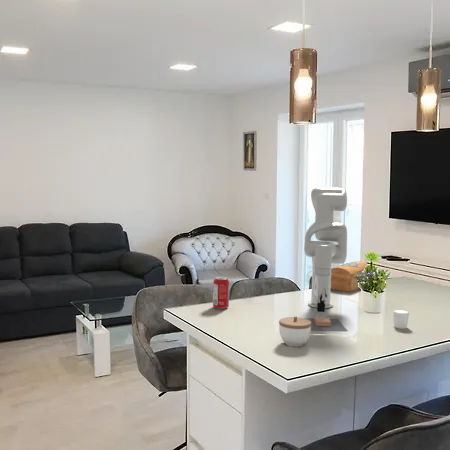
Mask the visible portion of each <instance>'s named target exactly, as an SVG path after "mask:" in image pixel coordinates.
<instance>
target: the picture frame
mask: <svg viewBox="0 0 450 450" xmlns="http://www.w3.org/2000/svg"><path fill="white" fill-rule="evenodd" d="M313 318H314V322H315V324H316V325H317V326H331V321H330V320H329V319H330V318H329V317H328V316H313Z"/></svg>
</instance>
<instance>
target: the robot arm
mask: <svg viewBox="0 0 450 450" xmlns="http://www.w3.org/2000/svg"><path fill="white" fill-rule="evenodd" d="M310 192H311V193H310V199H311V203H312V207H313V210H314V212H315V218H314V219H315V220H314V222H313V223H312V224H311V225H310V226H309V227H308V229H307V230H306V232H305V236H304V245H303V246H304V249H303V252H304V254H305V256H306V257H309V258H311V263H312V264H311V265H312V270H311V272H312V273H311V275H312V276H311V298H310V299H311V300H310V301H308V302H307V304H308V306H309V307H312V308H316V311H317V312H318V313H325V311H326V309H329V308H332V307H334V304H333V302H331V290H332V289H331V269H332V264H341V265H342V264H345V263H346V261H347V255H348V253H347V252H348V247H347V246H348V230H347V226H346V224H344V223H341V222H334V216H335V215H334V214H335V213H334V212H344V211H345V210H346V208H347V206H348V195H347V194H348V193H347V192H346V189H345V188H341V187H315V188H312V190H311V191H310ZM312 236H315V239H316V240H312ZM334 242H335V243H337V244H335V243H334Z"/></svg>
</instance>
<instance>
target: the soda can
mask: <svg viewBox="0 0 450 450" xmlns="http://www.w3.org/2000/svg"><path fill="white" fill-rule="evenodd" d="M212 283H213V285H212V286H213V288H212V306H213V308H214V309H218V310H226V309H228V308H229V305H230V303H229V302H230V280H229V278H228V277H226V276H215V277H214V279H213V281H212Z"/></svg>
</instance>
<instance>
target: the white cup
mask: <svg viewBox="0 0 450 450" xmlns="http://www.w3.org/2000/svg"><path fill="white" fill-rule="evenodd" d="M409 316H410V311H407V310H406V309H405V310H404V309H394V310H393V327H394V328H396V329H407V328H408V324H409Z"/></svg>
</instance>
